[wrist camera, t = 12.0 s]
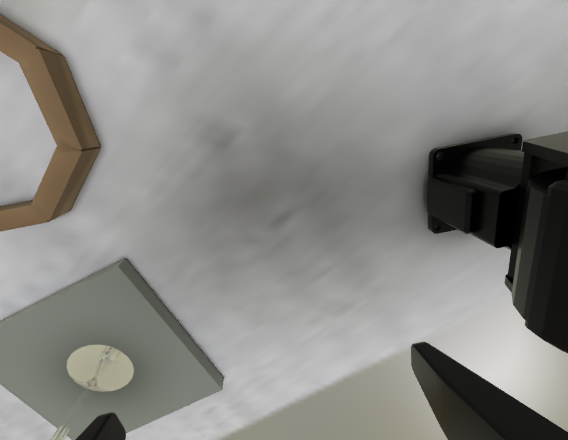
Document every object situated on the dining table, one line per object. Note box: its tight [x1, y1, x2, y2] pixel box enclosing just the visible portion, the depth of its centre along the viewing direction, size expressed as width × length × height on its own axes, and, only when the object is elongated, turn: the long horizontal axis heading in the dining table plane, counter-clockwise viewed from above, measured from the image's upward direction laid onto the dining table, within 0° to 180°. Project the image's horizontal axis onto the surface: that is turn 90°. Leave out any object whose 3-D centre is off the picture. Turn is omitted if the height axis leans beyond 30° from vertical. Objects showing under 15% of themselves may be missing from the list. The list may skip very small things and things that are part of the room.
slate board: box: [0, 258, 224, 440], centre depth 23 cm, size 14×14×1 cm
